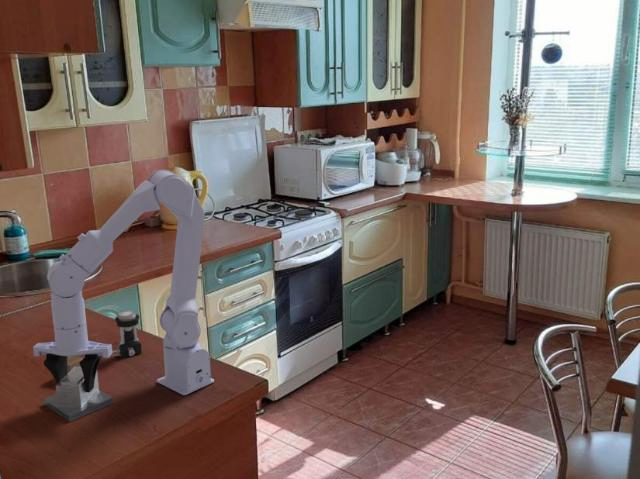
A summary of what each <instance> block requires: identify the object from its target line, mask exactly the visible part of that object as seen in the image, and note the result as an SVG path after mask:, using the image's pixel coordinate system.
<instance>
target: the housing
mask: <svg viewBox="0 0 640 479" xmlns="http://www.w3.org/2000/svg"><path fill="white" fill-rule="evenodd" d="M99 388H100V387H99V376H98V371H97V372H96V376H95V381H94V388H93V389H92V390H91V392H86V390H85V382H84V375H83V372H82V369H81V367H74V368H73V369H72V370H71V371H70V372H69V373H68V374H67V375H66V376H65V377H64V378H63V379H62V380H61V381H60V382H59V383H58V384H57V383H56V384H55V391H56V393H55V394H57V401H58V407H70V408H82V407H83V405H84V404H85V403H86V402H87V401H88V400H89V398H90V397H91V396H92V395H93V394H94V393H95V392H96V390H97V389H99Z"/></svg>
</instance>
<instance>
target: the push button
mask: <svg viewBox="0 0 640 479" xmlns="http://www.w3.org/2000/svg"><path fill="white" fill-rule="evenodd" d="M114 320H115V322H116V326H117V327H119V334H120V335H119V336H120V342H119V344H118V345H117V346H118V349H116V350H112V354H111V356H112V357H116V356H120V357H121V358H125V357H129V356H130V357H131V356H132V357H133V356H134V355H141V354H142V353H143V352H142V351H143V350H142V343H141V342H140V341H139V338H138V332H137V325H138V324H139V320H140V315H139V314H137V313H136V312H135V311H133V310H124V311H120V312H119V313H118V315H117V316H116V317H115V318H114ZM114 353H115V354H114Z"/></svg>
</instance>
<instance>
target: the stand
mask: <svg viewBox="0 0 640 479" xmlns="http://www.w3.org/2000/svg"><path fill="white" fill-rule="evenodd" d="M113 404H114V397H113V396H112V395H109V394H107V393H106V392H104V391H102V390H101V389H99V388H98V389H97V390H96V392H95V393H94V394H93V395H92V396H91V397H90V398H89V400H88V401H87V402H86V403H85V404H84V405H83V407H82V408H70V407H58V401H57V393H55V394H53V395H50V396H48V397H45V398H43V405H44V406H46V407H47V408H49V409H50V410H52V411H53V412H55V413H56V414H58V415H59V416H60V417H62V418H63V419H65V420H66V421H67V422H69V423H70V422H73V421H76V420H78V419H80V418H83V417H84V416H87V415H90V414H92V413H95V412H96V411H98V410H101V409H104V408H106V407H109V406H110V405H113Z"/></svg>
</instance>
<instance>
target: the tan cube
mask: <svg viewBox="0 0 640 479" xmlns="http://www.w3.org/2000/svg"><path fill="white" fill-rule="evenodd" d="M83 358H84V357H82V356H67V374H68V373H69V372H70V371H71V370H72V369H73V368H74V367H81V366H80V361H81V360H82V359H83Z"/></svg>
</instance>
